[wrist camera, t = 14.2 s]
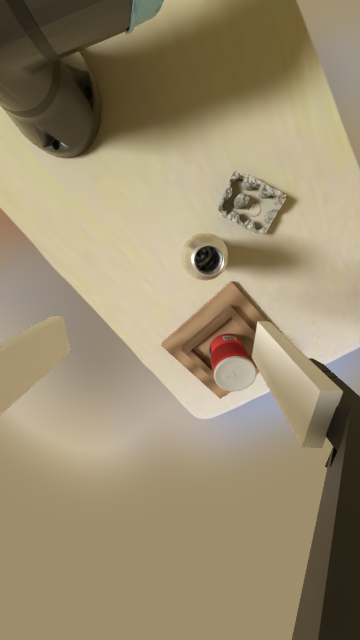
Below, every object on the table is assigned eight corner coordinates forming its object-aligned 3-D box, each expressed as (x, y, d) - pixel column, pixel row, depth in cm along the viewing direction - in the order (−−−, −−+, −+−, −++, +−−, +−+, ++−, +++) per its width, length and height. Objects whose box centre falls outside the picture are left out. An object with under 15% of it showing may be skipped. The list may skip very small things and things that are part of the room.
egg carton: (281, 200, 38) (291, 195, 34) (258, 238, 40) (265, 238, 36) (233, 171, 36) (238, 162, 32) (212, 212, 39) (215, 209, 35)
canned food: (202, 345, 47) (205, 372, 37) (230, 326, 45) (242, 350, 35) (220, 366, 49) (228, 398, 39) (248, 349, 47) (264, 378, 37)
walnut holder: (161, 342, 49) (160, 349, 46) (230, 281, 43) (234, 284, 40) (219, 394, 54) (221, 404, 51) (288, 346, 48) (295, 353, 45)
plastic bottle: (205, 275, 43) (218, 298, 24) (178, 259, 42) (170, 271, 23) (221, 247, 41) (249, 249, 22) (193, 230, 40) (197, 217, 21)
